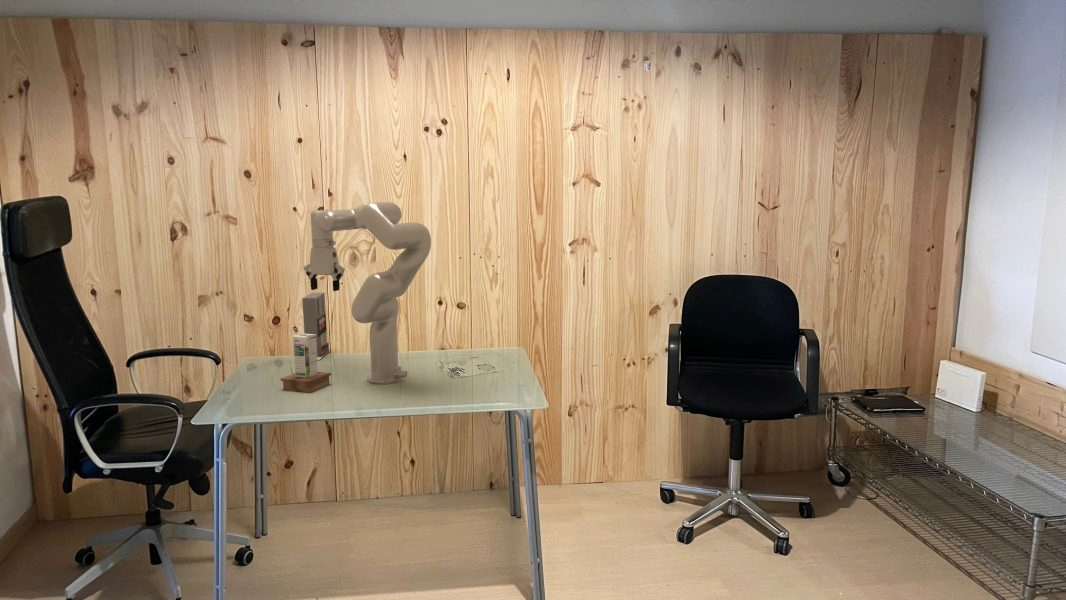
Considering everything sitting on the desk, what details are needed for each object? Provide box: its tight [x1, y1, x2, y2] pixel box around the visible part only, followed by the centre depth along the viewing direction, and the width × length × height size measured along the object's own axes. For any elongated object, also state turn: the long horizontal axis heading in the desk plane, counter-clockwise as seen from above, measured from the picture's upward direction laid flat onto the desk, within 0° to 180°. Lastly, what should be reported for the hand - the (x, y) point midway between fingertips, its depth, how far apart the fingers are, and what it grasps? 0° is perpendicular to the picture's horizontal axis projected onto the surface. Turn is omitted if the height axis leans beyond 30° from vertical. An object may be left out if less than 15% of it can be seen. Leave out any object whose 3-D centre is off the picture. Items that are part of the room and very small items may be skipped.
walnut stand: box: [280, 371, 332, 393], centre depth 268 cm, size 12×12×4 cm
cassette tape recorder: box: [302, 292, 330, 357], centre depth 311 cm, size 14×6×25 cm, turn 0°
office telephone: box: [438, 356, 481, 377], centre depth 292 cm, size 23×3×20 cm
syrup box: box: [292, 333, 319, 378], centre depth 267 cm, size 6×6×14 cm
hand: (325, 290), depth 287 cm, fingers open, 9 cm apart
